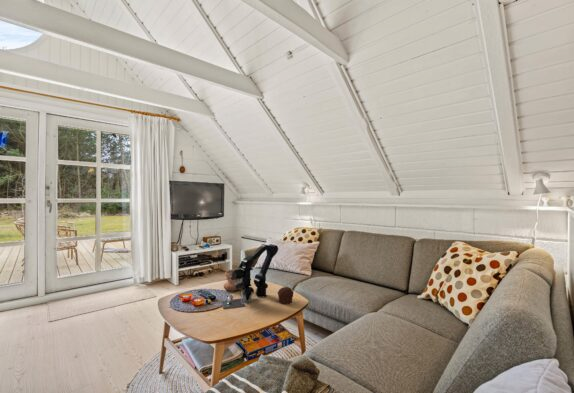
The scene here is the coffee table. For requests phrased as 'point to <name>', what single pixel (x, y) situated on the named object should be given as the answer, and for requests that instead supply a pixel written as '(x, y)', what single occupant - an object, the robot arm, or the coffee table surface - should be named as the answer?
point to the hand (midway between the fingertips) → (246, 298)
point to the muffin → (285, 295)
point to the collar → (244, 297)
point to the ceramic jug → (230, 281)
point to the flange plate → (232, 303)
